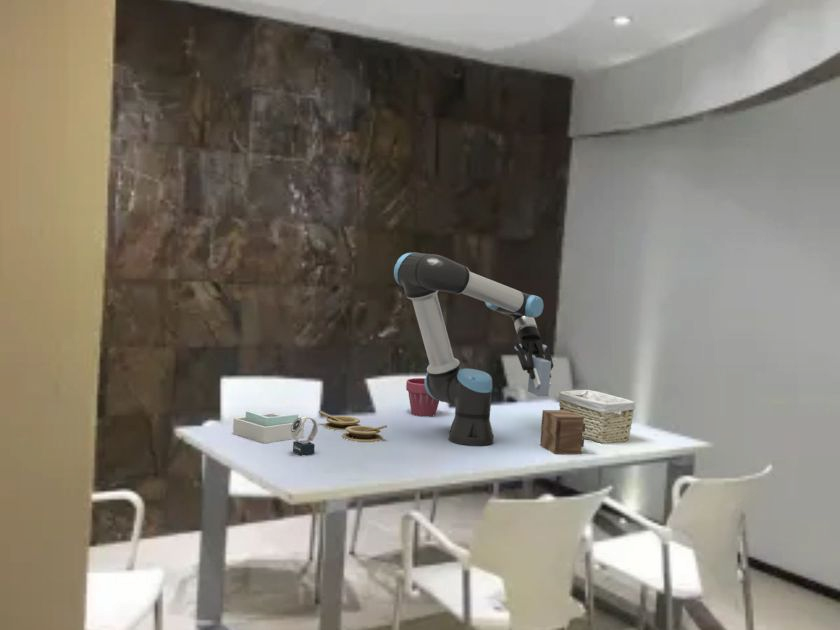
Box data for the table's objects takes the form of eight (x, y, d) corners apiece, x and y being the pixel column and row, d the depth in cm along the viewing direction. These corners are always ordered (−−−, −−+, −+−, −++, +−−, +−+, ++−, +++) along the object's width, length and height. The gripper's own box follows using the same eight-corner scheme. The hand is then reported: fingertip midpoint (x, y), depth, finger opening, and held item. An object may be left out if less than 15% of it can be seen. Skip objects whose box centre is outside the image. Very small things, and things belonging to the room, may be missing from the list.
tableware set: (398, 442, 300) (399, 425, 300) (343, 446, 291) (344, 427, 291) (359, 423, 326) (360, 407, 326) (308, 426, 317) (309, 409, 316)
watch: (286, 452, 275) (288, 416, 274) (310, 450, 280) (312, 414, 279) (295, 456, 271) (297, 419, 270) (319, 454, 275) (321, 418, 274)
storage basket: (634, 442, 322) (638, 400, 321) (601, 445, 313) (605, 402, 312) (586, 428, 342) (589, 388, 341) (553, 430, 333) (557, 390, 332)
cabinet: (583, 453, 298) (586, 417, 297) (555, 454, 295) (558, 417, 294) (567, 445, 309) (569, 410, 308) (540, 445, 306) (542, 410, 305)
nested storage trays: (264, 443, 284) (265, 427, 284) (232, 433, 295) (233, 418, 295) (303, 437, 296) (304, 422, 296) (272, 428, 307) (272, 413, 306)
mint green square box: (297, 437, 295) (298, 414, 295) (265, 441, 287) (266, 418, 286) (275, 430, 304) (276, 408, 303) (244, 434, 296) (245, 411, 295)
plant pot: (412, 418, 338) (414, 384, 337) (399, 410, 351) (401, 377, 350) (447, 417, 343) (450, 384, 342) (433, 410, 356) (435, 378, 355)
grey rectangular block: (548, 396, 313) (551, 361, 312) (538, 396, 312) (541, 361, 311) (536, 391, 321) (539, 357, 320) (527, 391, 320) (530, 357, 319)
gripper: (544, 338, 332) (561, 392, 318) (502, 337, 327) (517, 392, 313) (552, 325, 326) (569, 380, 313) (509, 324, 321) (525, 379, 307)
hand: (543, 386), depth 313 cm, fingers closed on grey rectangular block, 3 cm apart
